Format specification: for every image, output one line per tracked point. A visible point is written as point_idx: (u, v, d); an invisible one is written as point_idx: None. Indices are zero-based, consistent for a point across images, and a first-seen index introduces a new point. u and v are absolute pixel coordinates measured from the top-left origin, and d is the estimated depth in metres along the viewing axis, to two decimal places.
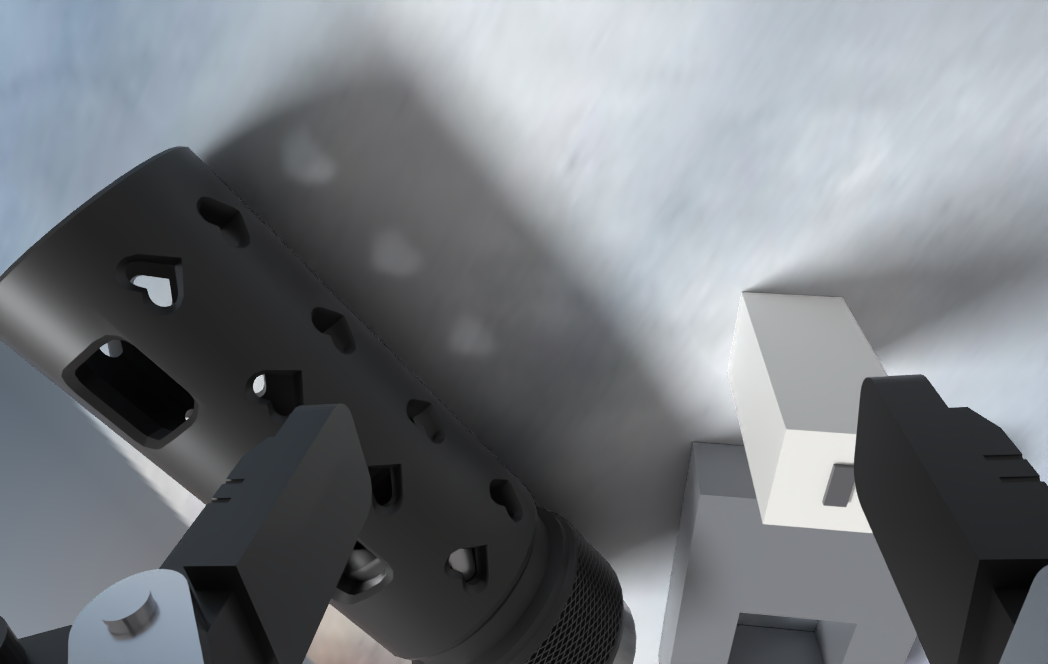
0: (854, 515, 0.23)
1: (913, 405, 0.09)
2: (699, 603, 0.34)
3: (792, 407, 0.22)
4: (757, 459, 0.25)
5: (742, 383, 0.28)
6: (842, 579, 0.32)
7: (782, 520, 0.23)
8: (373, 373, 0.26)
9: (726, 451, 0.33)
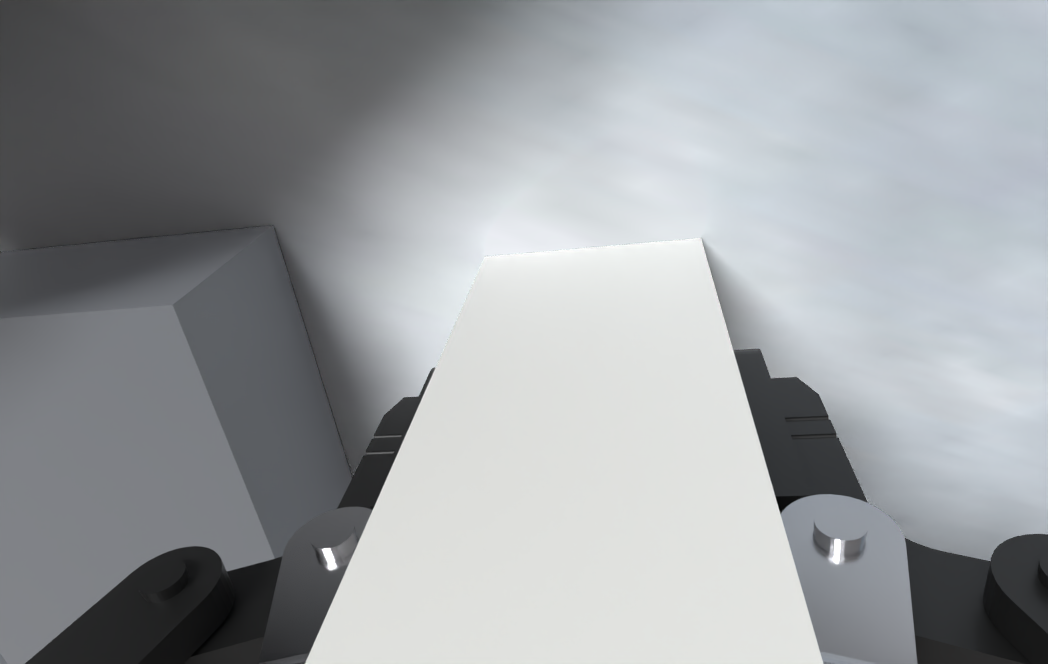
0: None
1: (741, 374, 0.10)
2: None
3: None
4: (467, 504, 0.07)
5: (545, 322, 0.11)
6: None
7: None
8: None
9: (284, 306, 0.14)
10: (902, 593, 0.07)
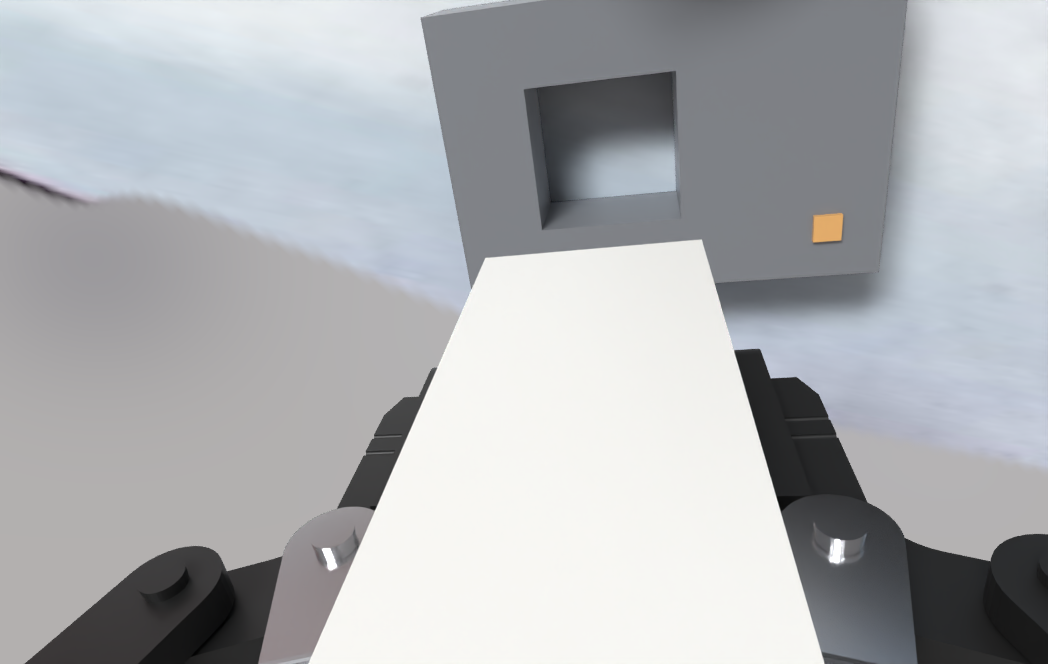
0: None
1: (741, 374, 0.10)
2: (686, 8, 0.24)
3: None
4: (468, 507, 0.07)
5: (546, 323, 0.11)
6: (759, 177, 0.26)
7: None
8: None
9: None
10: (902, 593, 0.07)
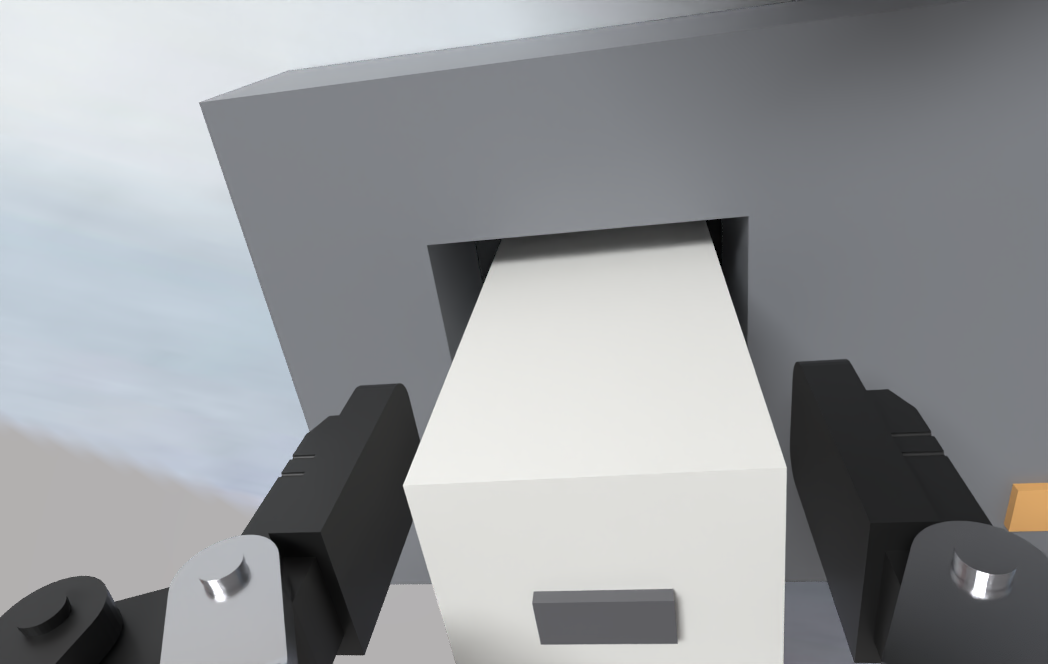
0: (509, 655, 0.09)
1: (833, 387, 0.10)
2: (777, 87, 0.10)
3: None
4: (516, 378, 0.09)
5: (567, 260, 0.13)
6: None
7: (434, 524, 0.08)
8: None
9: None
10: None
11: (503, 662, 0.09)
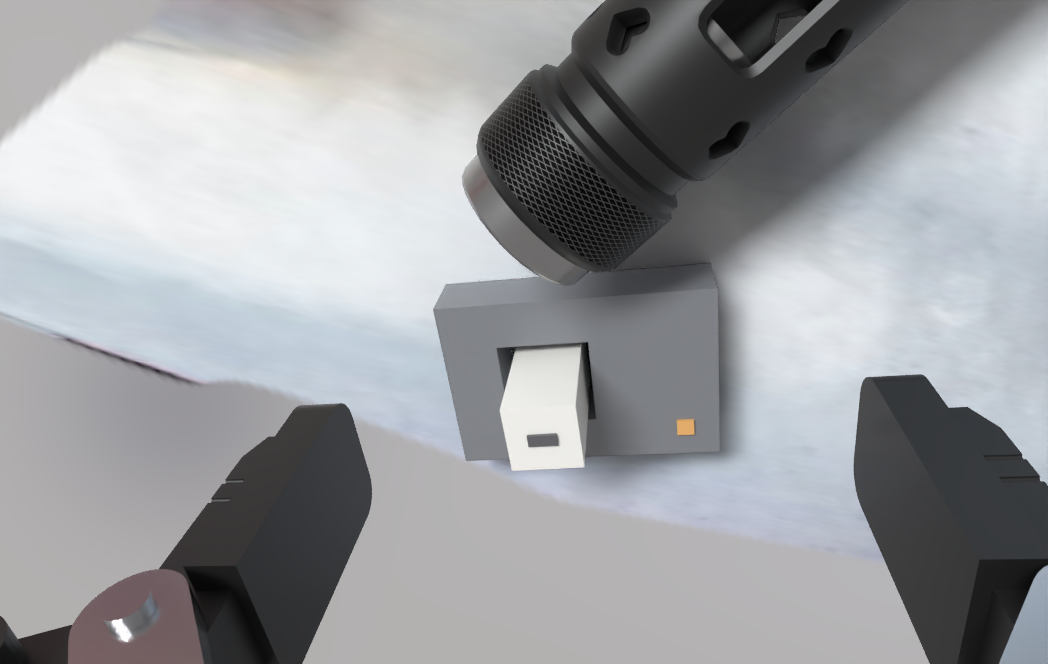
0: (521, 452, 0.38)
1: (913, 405, 0.09)
2: (591, 311, 0.40)
3: (577, 400, 0.38)
4: (523, 387, 0.39)
5: (538, 351, 0.42)
6: (642, 398, 0.42)
7: (505, 419, 0.37)
8: None
9: None
10: None
11: (520, 454, 0.38)
